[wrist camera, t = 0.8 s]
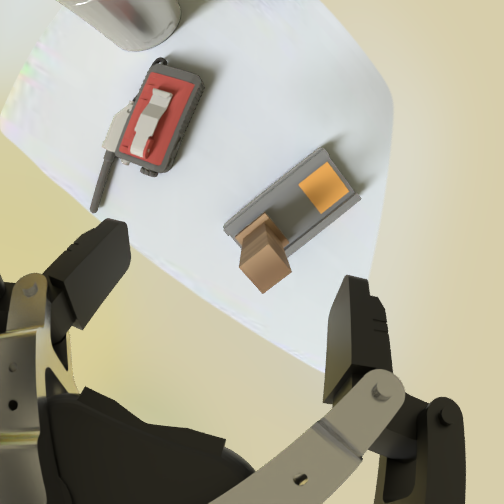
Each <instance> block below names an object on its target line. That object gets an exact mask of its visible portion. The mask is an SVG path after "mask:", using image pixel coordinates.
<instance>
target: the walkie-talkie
mask: <svg viewBox="0 0 504 504" xmlns="http://www.w3.org/2000/svg"><path fill="white" fill-rule="evenodd" d="M159 62H163V65H162V64H158V63H159ZM145 77H146V78H145V80H144V81H143V84H142V85H141V89H139V90H140V91H139V93H138V94H137V96H136V97H135V98H134V99H133V101H130V102H129V104H128V105H127V106H126V107H125V108H123V109H122V110H121V111H119V112H118V113H117V114H116V115H115V116H114V117H113V120H112V123H111V125H110V128H109V131H108V133H107V136H106V139H105V140H104V141H103V144H102V148H105V149H106V153H105V156H104V162H103V165H102V169H101V172H100V175H99V178H98V182H97V185H96V188H95V192H94V195H93V199H92V203H91V207H90V211H91V212H92V213H96V212H97V211H98V207H99V203H100V200H101V196H102V193H103V189H104V186H105V183H106V179H107V176H108V173H109V170H110V167H111V164H112V162H113V161H114V158H115V156H116V157H118V158H121V162H123V163H122V164H124V165H129V163H130V162H132V163H134V164H137V165H140V166H142V168H141V170H140V172H141V173H143V174H145V175H148V176H152V177H157V175H158V172H159V173H165V172H168V171H169V170H170V169H171V166H172V164H173V161H174V159H175V156H176V154H177V151H178V149H179V146H180V144H181V141H182V139H183V136H184V132H185V131H186V127H188V123H189V122H190V121H189V120H190V118H192V117H191V116H192V114H193V113H194V112H193V111H194V110H195V109H196V108H195V107H196V105H197V102H198V101H199V98H200V97H201V94H202V93H203V89H205V87H204V84H203V82H202V80H201V78H200V77H199V75H196V74H194V73H191V72H187V71H184V70H180V69H177V68H173V67H169V66H167V61H166V60H165V59H164V58H158V59H156V60H155V61H154V62H153V64H152V66H151V67H150V68H149V71H148V72H147V76H145Z"/></svg>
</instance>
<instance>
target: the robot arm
mask: <svg viewBox="0 0 504 504" xmlns="http://www.w3.org/2000/svg"><path fill="white" fill-rule="evenodd" d="M56 1H58V2H59V3H61V4H62V5H64V6H65V7H66V8H68V9H69V10H71V11H72V12H73V13H75V14H76V15H78V16H79V17H80V18H82V19H83V20H84V21H86V22H87V23H88V24H90V25H91V26H93V27H94V28H95V29H96V30H98V31H99V32H100V33H102V34H103V35H104V36H105V37H107V38H108V39H109V40H111V41H112V42H113V43H114V44H116V45H117V46H118V47H120V48H122V49H123V50H127V51H143V50H147V49H150V48H152V47H154V46H156V45H158V44H160V43H161V42H163V41H164V40H166V39H167V38H168V37H169V36H170V35H171V34H172V33H173V31H174V30H175V29H176V27H177V25H178V23H179V20H180V17H181V9H180V6H179V4H178V2H177V0H56ZM130 260H131V252H130V244H129V236H128V228H127V224H126V223H125V222H122V221H118V220H114V219H109V218H107V219H105V220H104V221H103V222H101V223H100V224H99V225H98V226H97V227H96V228H93V229H91V230H90V231H88V232H86V233H84V234H82V235H81V236H80V237H79V238H78V239H77V240H76V241H74V244H71V245H70V246H69V247H68V248H67V251H64V252H63V253H62V254H61V255H60V256H59V257H58V258H57V259H56V260H55V261H54V262H53V263H52V264H51V265H50V266H49V267H48V268H47V269H46V270H45V271H44V273H43V274H39V273H31V274H28V275H25V276H23V277H22V278H20V279H19V280H18V281H17V282H16V283H9V282H3V280H2V278H1V275H0V504H322V503H323V502H324V501H325V500H326V499H327V498H329V497H330V496H331V495H332V494H333V493H334V492H335V491H336V490H337V489H338V488H339V487H340V486H341V485H342V484H343V482H344V481H345V480H346V479H347V478H348V477H349V476H350V475H351V474H352V473H353V472H354V471H355V470H356V468H357V467H358V466H359V464H360V463H361V462H362V460H363V458H362V456H363V455H364V453H365V452H366V451H367V450H370V451H373V452H375V453H378V454H380V459H379V469H378V478H377V485H376V493H375V499H374V504H465V489H466V486H465V485H466V460H465V458H466V457H465V437H464V425H463V416H462V412H461V410H460V408H459V406H458V405H457V404H456V403H455V402H454V401H453V400H451V399H449V398H447V397H439V398H436V399H434V400H433V401H432V402H431V403H427V402H424V401H422V400H420V399H417V398H415V397H413V396H410V395H409V394H407V393H406V392H405V390H404V386H403V384H402V382H401V381H400V380H399V378H398V377H397V376H396V375H394V374H393V369H392V360H391V350H390V341H389V335H388V327H387V324H386V322H387V319H386V313H385V308H384V307H383V305H382V303H381V302H380V300H379V298H378V297H375V296H370V292H369V284H368V280H367V279H363V278H359V277H354V276H350V275H346V276H345V277H344V279H343V282H342V284H341V286H340V289H339V291H338V293H337V295H336V298H335V300H334V302H333V305H332V307H331V310H330V314H329V319H328V333H327V352H326V368H325V383H324V394H323V403H327V404H333V407H332V409H331V410H330V411H329V412H328V413H327V414H326V415H325V416H324V417H323V418H322V419H321V420H319V421H317V422H316V423H315V424H314V425H313V426H311V427H310V428H309V429H308V430H307V431H306V432H305V433H303V434H302V435H301V436H300V437H299V438H298V439H296V440H295V441H294V442H293V443H292V444H291V445H289V446H288V447H287V448H286V449H285V450H283V451H282V452H281V453H280V454H278V455H277V456H276V457H274V458H273V459H272V460H271V461H269V462H268V463H267V464H265V465H264V466H263V467H261V468H260V469H259V470H257V471H255V470H254V469H253V468H252V467H251V465H250V464H249V463H248V462H247V461H245V460H244V459H243V458H242V457H241V456H239V455H238V454H236V453H235V452H233V451H232V450H230V449H228V448H226V447H224V446H225V441H226V439H223V438H219V437H216V436H212V435H209V434H205V433H201V432H198V431H195V430H192V429H189V428H179V427H170V426H161V425H153V424H147V423H145V422H143V421H141V420H140V419H139V418H137V417H136V416H135V415H133V414H132V413H131V412H129V411H128V410H127V409H125V408H124V407H123V406H121V405H120V404H119V403H117V402H116V401H115V400H113V399H110V398H108V397H106V396H104V395H102V394H100V393H97V392H95V391H94V390H92V389H89V388H87V387H84V389H83V391H82V393H81V394H79V391H78V389H77V386H76V384H75V381H74V376H73V368H72V357H71V344H70V334H69V331H68V330H69V329H70V327H71V326H74V327H76V328H78V329H81V330H83V329H84V328H85V326H86V325H87V323H88V322H89V321H90V319H91V318H92V316H93V315H94V313H95V312H96V311H97V309H98V308H99V306H100V305H101V304H102V303H103V301H104V300H105V299H106V297H107V296H108V295H109V293H110V292H111V291H112V289H113V288H114V287H115V285H116V284H117V283H118V281H119V280H120V279H121V278H122V276H123V275H124V274H125V272H126V271H127V269H128V267H129V265H130Z"/></svg>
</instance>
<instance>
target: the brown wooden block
mask: <svg viewBox="0 0 504 504" xmlns="http://www.w3.org/2000/svg"><path fill="white" fill-rule="evenodd" d="M235 239H236V240H237V241H238V242H239V243H240V244H241V245H242V249H241V257H240V264H239V268H240V269H241V270H242V271H243V272H244V274H245V275H246V276H247V277H248V278H249V279H250V280H251V281H252V283H253V284H254V285H255V286H256V287H257V288H258V289H259V290H260V291H261V293H262V294H263V293H265V292H266V291H267V290H269V289H270V288H271V287H273V286H274V285H275V284H277V283H278V282H279V281H281V280H282V279H283V278H285V277H286V276H287V275H289V274H290V273H291V272H292V271H291V268H290V265H289V262H288V260H287V257H286V254H285V251H284V247H285V246H286V245H287V244H289V241H288V239H287V238H286V237H285V236H284V234H283V233H282V232H281V231H280V230H279V228H278V227H277V226H276V225H275V223H274V222H273V221H272V220H271V219H270V217H269V216H268V215H267V214H266V213H265V212H264V213H262V214H261V215H260V216H259V217H258V218H256V219H255V220H254V221H253V222H251V223H250V224H249V225H248V226H246V227H245V228H244V229H243V230H242V231H240V232H239V233H238V234H237V235H235Z"/></svg>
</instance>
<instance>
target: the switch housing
mask: <svg viewBox="0 0 504 504" xmlns="http://www.w3.org/2000/svg"><path fill="white" fill-rule="evenodd" d="M360 200H361V197H360V196H359V195H358V193H356V192H354V190H353V189H352V187H351V186H350V184H349V183H348V182H347V180H346V179H345V178H344V176H343V175H342V173H341V172H340V171H339V169H338V168H337V167H336V165H335V164H334V163H333V161H332V160H331V159H330V157H329V153H328V152H327V151H326V150H325V149H323V148H318V149H317V150H316V151H314V152H313V153H312V154H310V155H309V156H308V157H306V158H305V159H304V160H303V161H301V162H300V163H299V164H298V165H296V166H295V167H294V168H292V169H291V170H290V171H289V172H287V173H286V174H285V175H284V176H282V177H281V178H280V179H279V180H277V181H276V182H275V183H274V184H272V185H271V186H270V187H269V188H267V189H266V190H265V191H264V192H262V193H261V194H260V195H259V196H258V197H256V198H255V199H254V200H253V201H251V202H250V203H249V204H248V205H247V206H245V207H244V208H243V209H242V210H240V211H239V212H238V213H237V214H236V215H234V216H233V217H232V218H231V219H230V220H228V221H227V222H226V223H225V224H224V226H223V228H224V232H225V233H226V234H227V235H228V236H229V235H230V236H231V237H232V238H233V240H234V241H235V242H236V243H237V244H238V245H239V246H240V248H241V249H242V245H241V244H240V243H239V242H238V241H237V240H236V239H235V235H237V234H238V233H239V232H240V231H242V230H243V229H244V228H245V227H246V226H248V225H249V224H250V223H251V222H253V221H254V220H255V219H256V218H258V217H259V216H260V215H261V214H262V213H264V212H265V213H266V214H267V215H268V216H269V217H270V219H271V220H272V221H273V222H274V223H275V225H276V226H277V227H278V228H279V230H280V231H281V232H282V233H283V234H284V236H285V237H286V238H287V239H288V241H289V244H287V245H286V246H285V247H284V251H285V254H286V257H287V258H288V257H289V256H290V255H292V254H293V253H294V252H296V251H297V250H298V249H299V248H301V247H302V246H303V245H304V244H306V243H307V242H308V241H310V240H311V239H312V238H313V237H315V236H316V235H317V234H318V233H320V232H321V231H322V230H323V229H325V228H326V227H327V226H329V225H330V224H331V223H332V222H334V221H335V220H336V219H337V218H339V217H340V216H341V215H342V214H344V213H345V212H346V211H347V210H349V209H350V208H351V207H352V206H353V205H355V204H356V203H357V202H358V201H360Z"/></svg>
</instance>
